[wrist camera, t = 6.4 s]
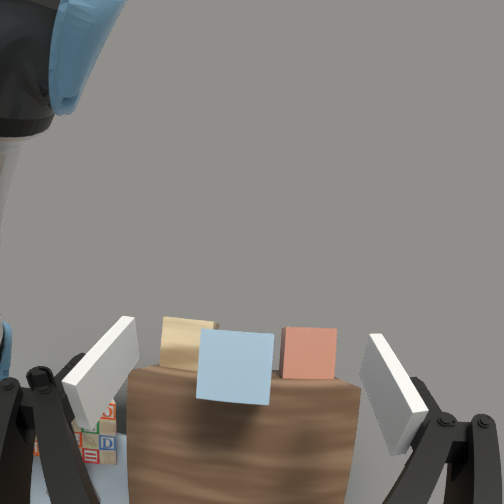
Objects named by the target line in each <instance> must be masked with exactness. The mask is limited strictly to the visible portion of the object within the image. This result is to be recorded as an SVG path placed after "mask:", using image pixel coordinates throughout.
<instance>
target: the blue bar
mask: <svg viewBox="0 0 504 504" xmlns="http://www.w3.org/2000/svg"><path fill="white" fill-rule="evenodd" d="M273 343H274V334H266V333H251V332H237V331H225V330H214V329H204V328H201V335H200V347H199V360H198V374H197V389H196V398H199V399H207V400H215V401H224V402H234V403H245V404H259V405H269V397H270V385H271V372H272V358H273Z"/></svg>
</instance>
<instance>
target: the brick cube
mask: <svg viewBox="0 0 504 504" xmlns="http://www.w3.org/2000/svg"><path fill="white" fill-rule="evenodd" d="M336 341H337V329H335V328H334V329H333V328H303V327H301V328H300V327H285V328H282V335H281V349H280V364H279V374H280V375H281V377H282V378H289V379H334V372H335V358H336Z"/></svg>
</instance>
